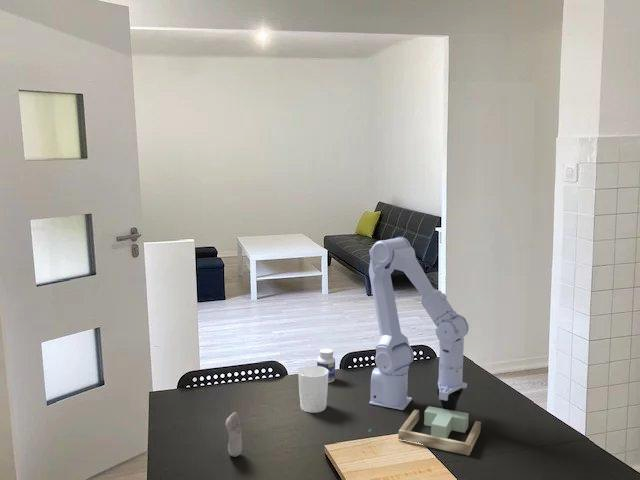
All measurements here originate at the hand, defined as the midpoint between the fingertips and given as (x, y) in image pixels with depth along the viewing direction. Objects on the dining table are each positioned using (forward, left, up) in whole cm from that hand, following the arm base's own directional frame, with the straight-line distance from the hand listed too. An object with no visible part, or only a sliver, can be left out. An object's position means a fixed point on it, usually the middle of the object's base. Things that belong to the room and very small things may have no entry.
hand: (449, 417), depth 153 cm
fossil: (-39, -37, -1) cm, 54 cm away
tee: (0, -6, -1) cm, 6 cm away
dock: (0, -8, -1) cm, 8 cm away
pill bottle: (-39, +12, -1) cm, 41 cm away
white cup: (-34, -7, -1) cm, 35 cm away
